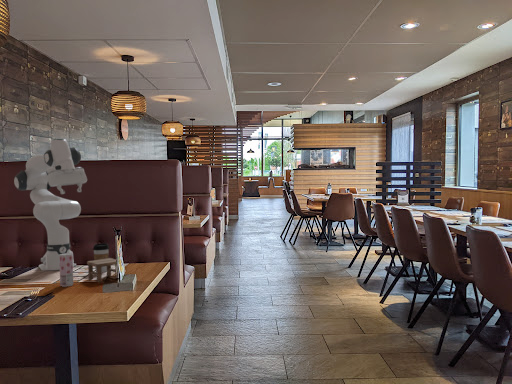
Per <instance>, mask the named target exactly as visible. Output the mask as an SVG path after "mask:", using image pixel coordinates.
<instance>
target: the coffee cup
mask: <svg viewBox="0 0 512 384" xmlns="http://www.w3.org/2000/svg"><path fill="white" fill-rule="evenodd" d="M109 250H110V247H109V243H107V242H104V243H102V242H101V243H95V244H93V247H92V251H93V259H94V260H100V259H106V258H109ZM95 272H96V273H97V267H95ZM101 273H107V266H104V267H101Z"/></svg>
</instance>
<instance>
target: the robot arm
mask: <svg viewBox="0 0 512 384" xmlns="http://www.w3.org/2000/svg"><path fill="white" fill-rule="evenodd" d="M81 160H82V154H81V151H80V150H79V149H78V148H76V147H74V146H73V147H70V146H69V142H68V141H67V139H65V138H54V139H52V140H50V147H49V149H47V150H46V151H45V153H44V154H35V155H33V156H31V157H29V159H27V161H26V163H25V170H22V169H21V170H20V171H19V172H18V173H17V174H16V175H15V176H14V179H13V180H14V181H13V182H14V186H15V189H17V190H18V191H22V192H23V191H30V192H29V197H30V200H31V202H32V203H33V204H34V206H33V209H32V213H33V217H34V218H36V219H37V221H39V222H41V223H42V225H43V226H44V227H45V230H46V234H47V245H46V252H45V254H44V255H43V257H41V258H40V262H41V264H39V265H38V268H39V269H40V270H41V271H42V272H43V271H44V272H45V271H60V254H64V253H72V255H73V256H74V253H73V251H72V250H71V242H70V230H69V228H68V227H66V226H64V225H62V224H60V220H70V219H74V218H77V217H79V215H80V214H81V211H82V207H81V204H80V203H79V202H78V201H77V200H72V199H68V198H64V197H60V196H58V195H55V194H53V193H52V192H51V191H49V190H51V187H52V188H53V187H56V188H57V190H58V191H60V193H59V194H60V195H64V194H66V190H64V189H63V188H62V186H73V185H77V187H78V188H77V189H76V192H77V193H82V187H83V185H84V184H86V183H87V181H88V177H87V175H86V172H85V169H84V168H83V167H82V166H77V165H78V164H79V163H80V162H81ZM74 262H75V261H74V258H73V267H75V266H77V263H74Z"/></svg>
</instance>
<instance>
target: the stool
mask: <svg viewBox="0 0 512 384" xmlns="http://www.w3.org/2000/svg"><path fill="white" fill-rule="evenodd" d="M116 260H117V259H115V258H112V257H108V258H106V259H100V260H88V261H86V265H88V266H87V269H88V270H87V271H88V280H94V276H96V282H97V283H98V284H99V283H102V282H103V280H102V279H103V278H102V272H101V267H104V266H107V271H106V276H107V277H110V276H112V272H113V273H115V276H116ZM112 266H114V267H115V269H114V268H112ZM94 267H97V272H96V271H94Z"/></svg>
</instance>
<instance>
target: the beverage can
mask: <svg viewBox="0 0 512 384" xmlns="http://www.w3.org/2000/svg"><path fill="white" fill-rule="evenodd" d="M73 259H74V254H73V255H72V253H64V254H60V270H59V286H60V287H61V286H62V287H63V288H66V287H67V286H68V287H71V286H73V285H74V266H73Z"/></svg>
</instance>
